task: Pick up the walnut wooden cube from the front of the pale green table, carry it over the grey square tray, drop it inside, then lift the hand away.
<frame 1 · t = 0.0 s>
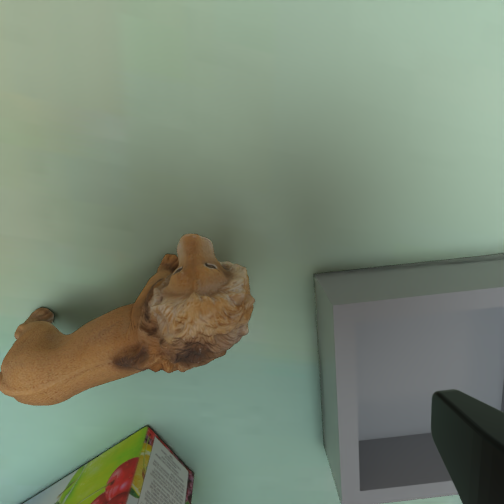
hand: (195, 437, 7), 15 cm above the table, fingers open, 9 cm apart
lion figurine: (139, 291, 22), on the table
grey square tray: (415, 355, 24), on the table
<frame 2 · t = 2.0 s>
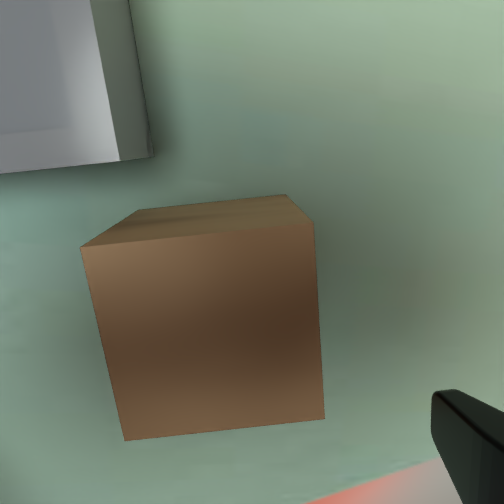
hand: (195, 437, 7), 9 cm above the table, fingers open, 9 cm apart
walnut cube: (221, 271, 16), on the table
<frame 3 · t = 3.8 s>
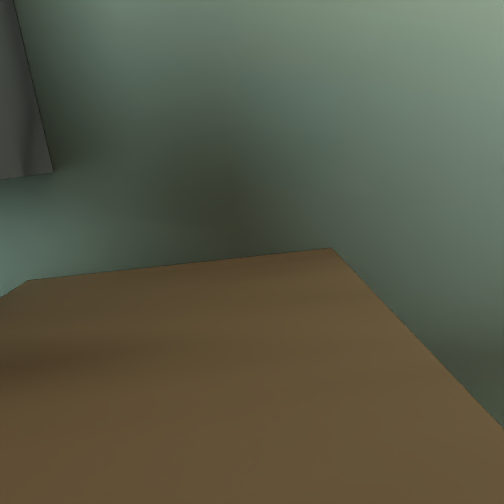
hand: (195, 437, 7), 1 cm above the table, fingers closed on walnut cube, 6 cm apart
walnut cube: (201, 394, 8), on the table, touching gripper
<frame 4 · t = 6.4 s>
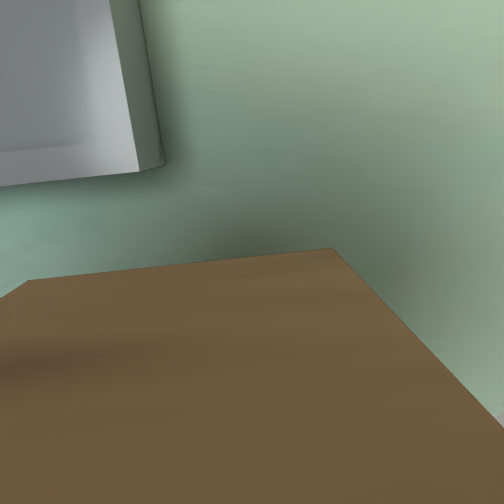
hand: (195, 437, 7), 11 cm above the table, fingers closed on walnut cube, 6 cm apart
walnut cube: (201, 394, 8), point 10 cm above the table, touching gripper
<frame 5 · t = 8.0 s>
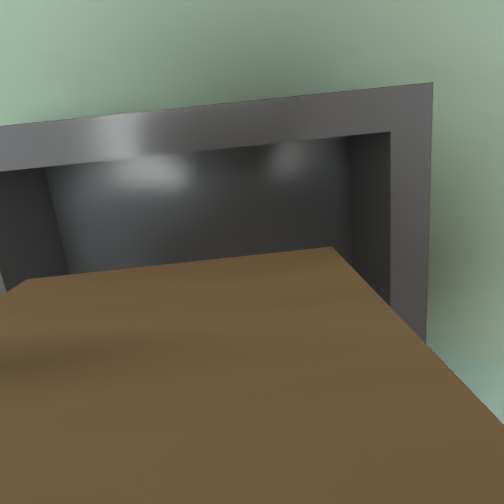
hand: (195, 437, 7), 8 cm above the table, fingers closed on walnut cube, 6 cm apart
walnut cube: (201, 393, 8), point 7 cm above the table, touching gripper
grey square tray: (217, 283, 15), on the table
when the fingers open (6 cm above the table, at t = 9.3 s): walnut cube drops 3 cm, resting on grey square tray.
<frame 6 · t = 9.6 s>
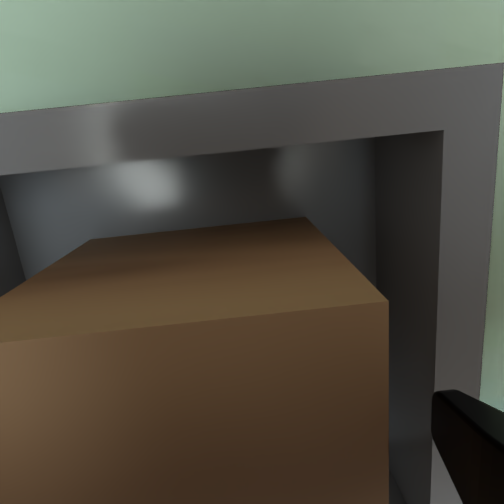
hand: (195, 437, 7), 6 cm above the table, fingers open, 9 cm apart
walnut cube: (212, 325, 11), point 1 cm above the table, touching grey square tray
grey square tray: (212, 312, 12), on the table
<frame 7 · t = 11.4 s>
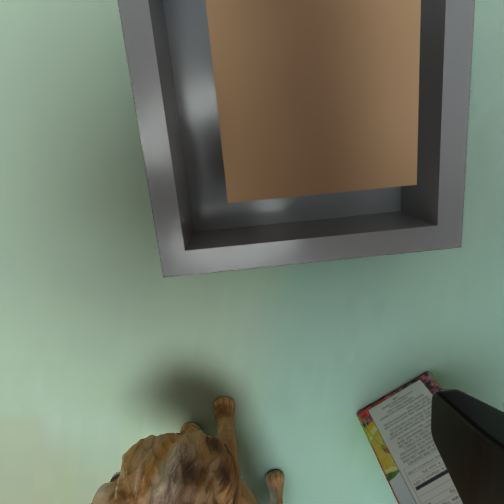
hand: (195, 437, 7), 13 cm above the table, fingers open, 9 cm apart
walnut cube: (290, 110, 17), point 1 cm above the table, touching grey square tray
lion figurine: (223, 452, 23), on the table
grey square tray: (288, 113, 18), on the table
snack box: (464, 500, 25), on the table
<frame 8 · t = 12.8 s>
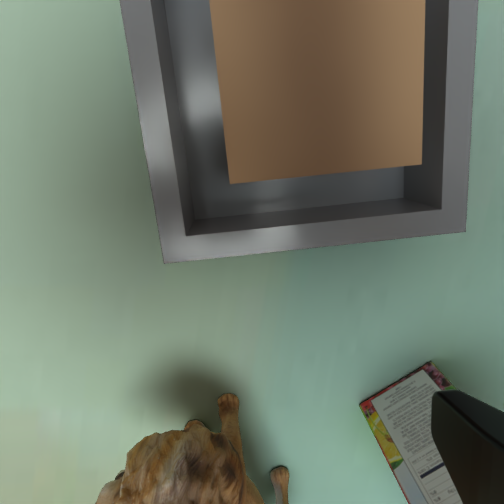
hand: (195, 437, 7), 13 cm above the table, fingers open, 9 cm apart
walnut cube: (292, 95, 17), point 1 cm above the table, touching grey square tray
lion figurine: (227, 449, 23), on the table
grey square tray: (289, 99, 18), on the table
snack box: (468, 492, 25), on the table
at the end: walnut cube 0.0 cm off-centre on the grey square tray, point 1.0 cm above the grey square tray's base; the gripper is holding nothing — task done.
